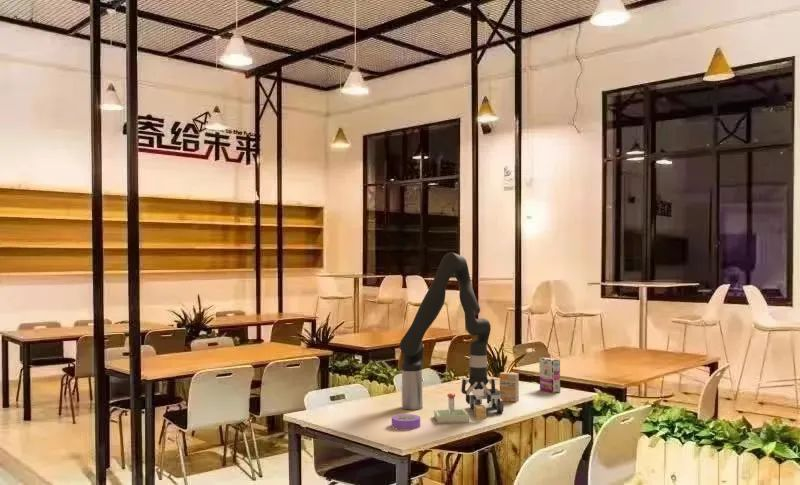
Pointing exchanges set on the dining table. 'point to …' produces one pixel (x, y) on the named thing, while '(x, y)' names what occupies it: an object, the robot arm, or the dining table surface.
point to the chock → (479, 411)
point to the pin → (451, 403)
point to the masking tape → (406, 421)
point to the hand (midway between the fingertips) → (478, 403)
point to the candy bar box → (549, 375)
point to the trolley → (482, 394)
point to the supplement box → (509, 386)
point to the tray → (451, 416)
